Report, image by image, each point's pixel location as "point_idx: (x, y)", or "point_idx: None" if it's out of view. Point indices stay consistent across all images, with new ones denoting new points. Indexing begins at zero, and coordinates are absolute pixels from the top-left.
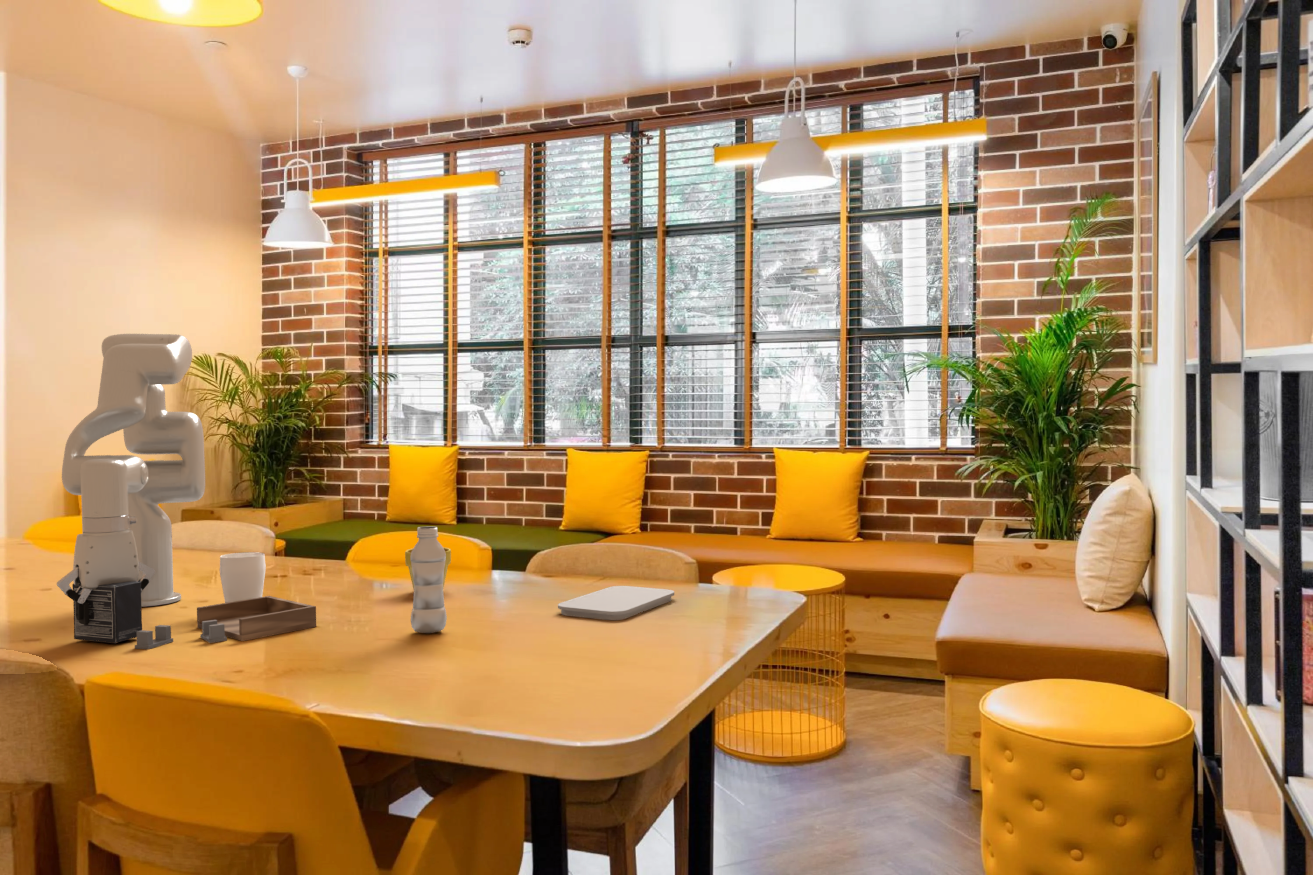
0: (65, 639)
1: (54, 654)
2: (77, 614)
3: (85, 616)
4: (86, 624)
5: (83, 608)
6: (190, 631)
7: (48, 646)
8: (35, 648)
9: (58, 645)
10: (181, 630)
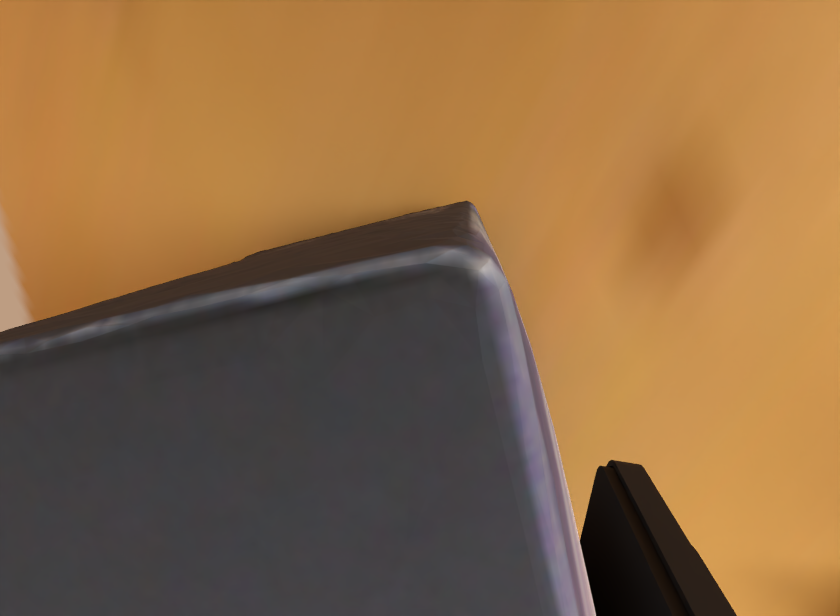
0: (261, 103)
1: None
2: None
3: None
4: None
5: None
6: (830, 611)
7: (118, 227)
8: (50, 211)
9: (167, 255)
10: (830, 541)
